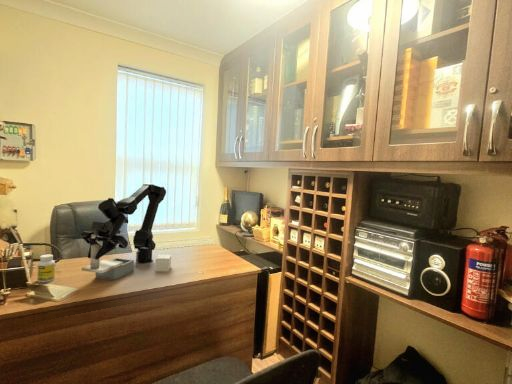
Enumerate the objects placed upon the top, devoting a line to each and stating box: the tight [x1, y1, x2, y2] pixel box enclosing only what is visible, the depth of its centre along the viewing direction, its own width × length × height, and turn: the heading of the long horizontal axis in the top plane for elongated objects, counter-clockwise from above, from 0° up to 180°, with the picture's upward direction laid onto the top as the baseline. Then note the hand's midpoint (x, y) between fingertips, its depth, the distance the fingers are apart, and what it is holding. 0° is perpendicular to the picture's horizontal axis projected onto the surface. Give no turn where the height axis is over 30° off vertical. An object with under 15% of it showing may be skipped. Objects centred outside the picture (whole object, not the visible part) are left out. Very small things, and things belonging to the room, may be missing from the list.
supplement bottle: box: [36, 253, 56, 283], centre depth 109 cm, size 5×5×10 cm
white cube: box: [154, 254, 172, 272], centre depth 129 cm, size 6×6×6 cm
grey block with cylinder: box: [81, 244, 123, 274], centre depth 112 cm, size 12×9×10 cm
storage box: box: [95, 257, 135, 281], centre depth 119 cm, size 12×9×5 cm
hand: (92, 258), depth 106 cm, fingers closed on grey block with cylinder, 3 cm apart
